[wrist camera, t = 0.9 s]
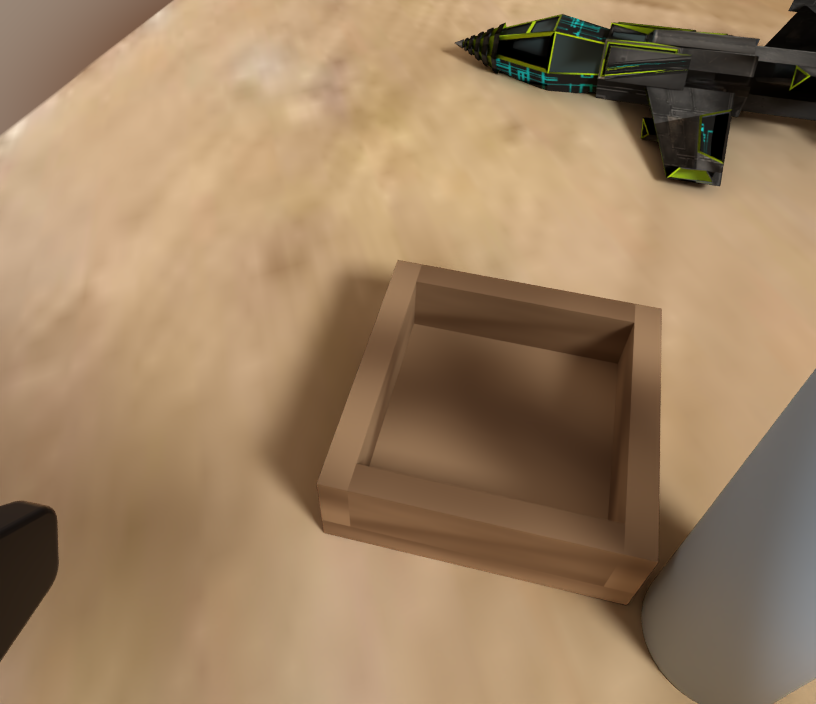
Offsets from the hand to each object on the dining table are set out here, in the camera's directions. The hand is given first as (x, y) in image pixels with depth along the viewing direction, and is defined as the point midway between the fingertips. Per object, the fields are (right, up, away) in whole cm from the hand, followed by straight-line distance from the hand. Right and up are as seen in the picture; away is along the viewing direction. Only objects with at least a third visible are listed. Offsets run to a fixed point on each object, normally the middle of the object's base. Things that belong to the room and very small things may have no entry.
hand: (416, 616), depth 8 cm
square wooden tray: (+3, 0, +19) cm, 20 cm away
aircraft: (+16, +18, +36) cm, 43 cm away
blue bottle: (+10, -6, +15) cm, 19 cm away
